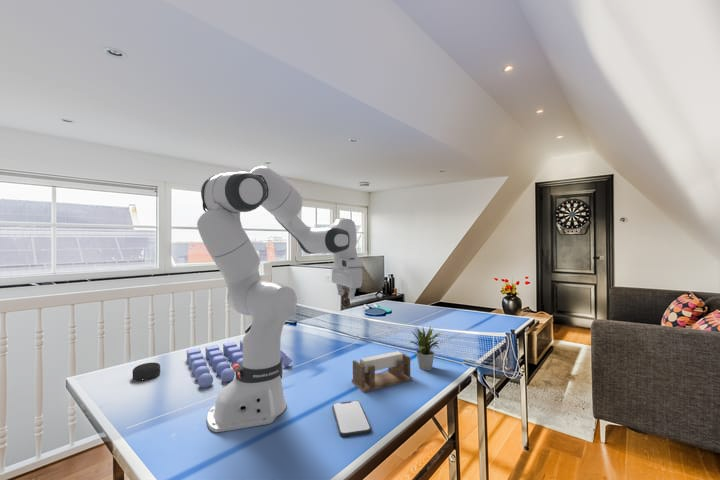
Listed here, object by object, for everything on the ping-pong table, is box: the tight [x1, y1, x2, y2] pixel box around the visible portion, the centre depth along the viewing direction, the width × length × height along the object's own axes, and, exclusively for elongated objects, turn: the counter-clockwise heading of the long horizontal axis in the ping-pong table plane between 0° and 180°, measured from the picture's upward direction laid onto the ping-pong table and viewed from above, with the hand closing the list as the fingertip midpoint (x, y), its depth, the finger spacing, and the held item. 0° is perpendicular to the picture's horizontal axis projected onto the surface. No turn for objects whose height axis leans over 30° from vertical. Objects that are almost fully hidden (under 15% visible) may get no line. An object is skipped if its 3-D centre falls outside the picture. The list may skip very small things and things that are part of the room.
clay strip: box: [359, 350, 404, 373], centre depth 119 cm, size 16×3×4 cm, turn 118°
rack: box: [351, 351, 413, 393], centre depth 119 cm, size 20×9×8 cm, turn 118°
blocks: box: [186, 339, 293, 389], centre depth 137 cm, size 35×34×5 cm
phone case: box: [331, 400, 372, 438], centre depth 94 cm, size 9×2×16 cm
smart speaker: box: [132, 362, 161, 381], centre depth 125 cm, size 9×9×4 cm
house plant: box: [409, 325, 443, 371], centre depth 130 cm, size 14×14×16 cm
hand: (345, 297), depth 127 cm, fingers open, 8 cm apart
